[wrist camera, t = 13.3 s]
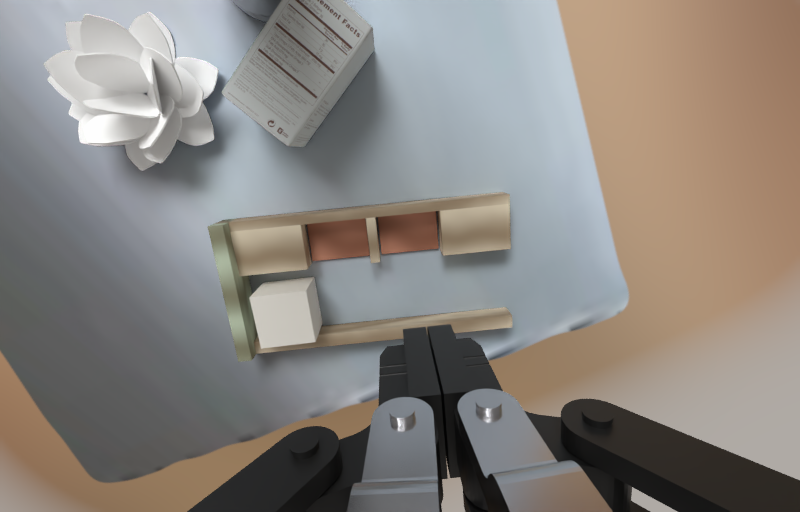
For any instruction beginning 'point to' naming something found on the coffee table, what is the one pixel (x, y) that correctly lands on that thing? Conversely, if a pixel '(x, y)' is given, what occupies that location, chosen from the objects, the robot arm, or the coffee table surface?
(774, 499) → the robot arm
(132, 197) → the coffee table surface
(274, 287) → the cream block
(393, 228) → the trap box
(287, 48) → the supplement box
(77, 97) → the lotus flower
